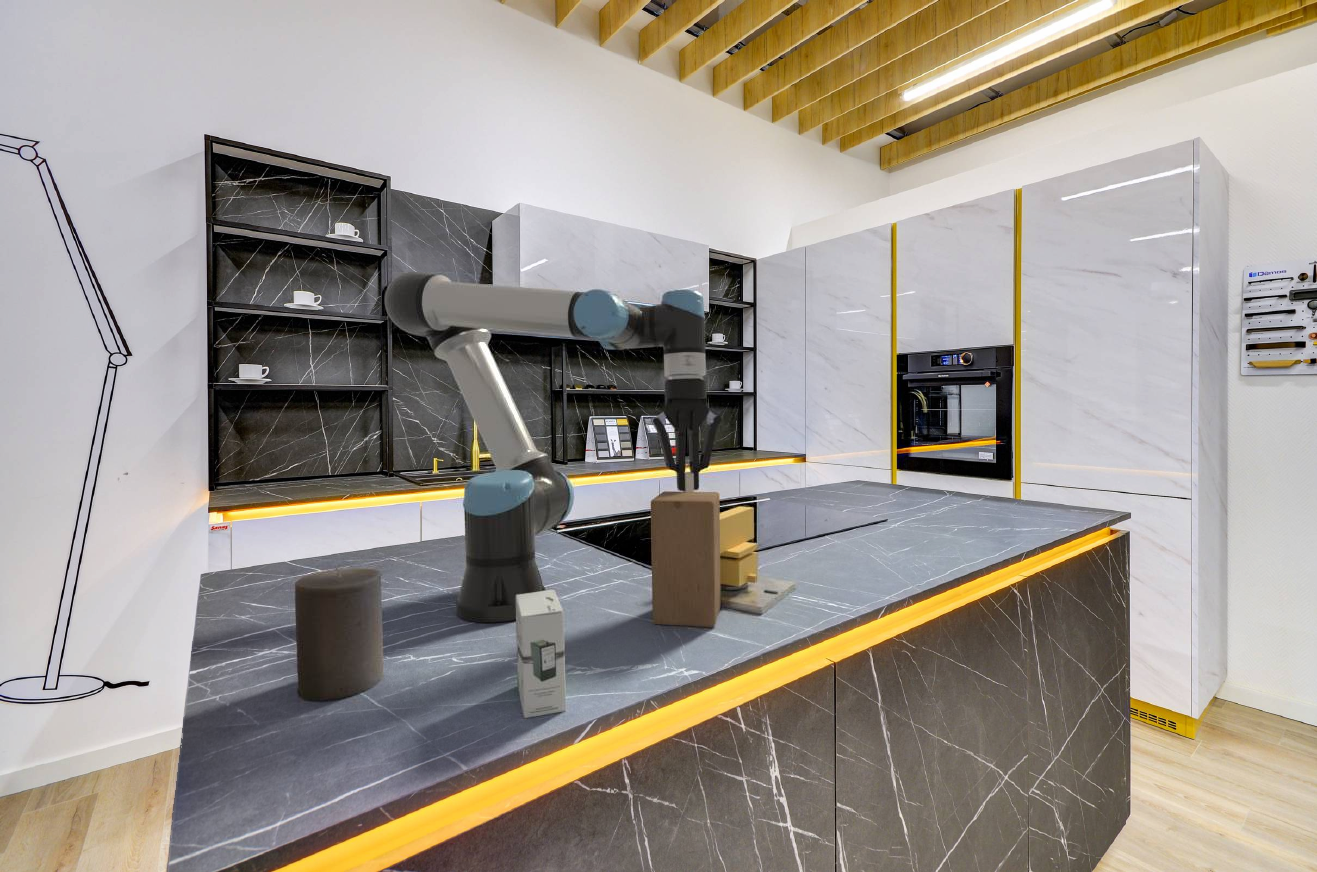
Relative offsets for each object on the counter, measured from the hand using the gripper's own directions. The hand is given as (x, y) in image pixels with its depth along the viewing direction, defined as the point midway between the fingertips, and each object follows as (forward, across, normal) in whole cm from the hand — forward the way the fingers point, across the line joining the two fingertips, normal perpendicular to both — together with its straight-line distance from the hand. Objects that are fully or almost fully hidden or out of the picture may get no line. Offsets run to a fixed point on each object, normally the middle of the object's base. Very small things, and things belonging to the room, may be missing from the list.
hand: (688, 508), depth 105 cm
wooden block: (+16, -3, -10) cm, 19 cm away
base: (+16, +8, 0) cm, 18 cm away
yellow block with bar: (+14, +8, 0) cm, 16 cm away
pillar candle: (+16, -52, -22) cm, 58 cm away
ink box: (+16, -27, -32) cm, 45 cm away
